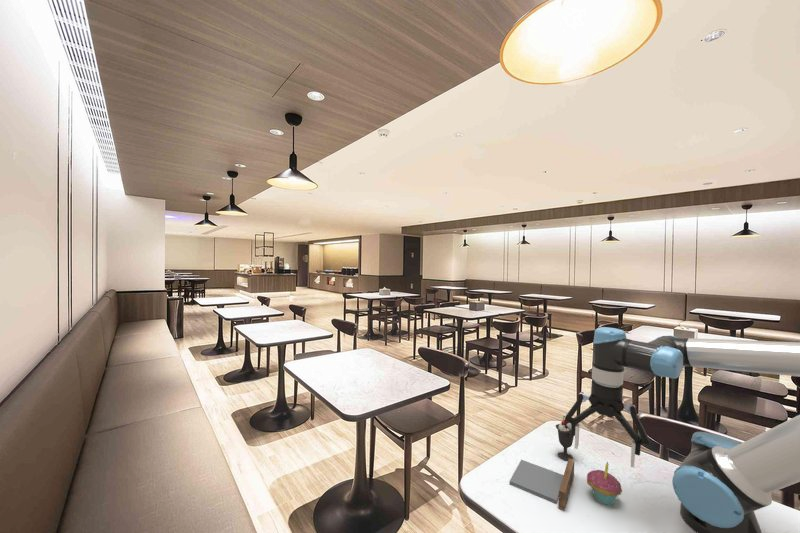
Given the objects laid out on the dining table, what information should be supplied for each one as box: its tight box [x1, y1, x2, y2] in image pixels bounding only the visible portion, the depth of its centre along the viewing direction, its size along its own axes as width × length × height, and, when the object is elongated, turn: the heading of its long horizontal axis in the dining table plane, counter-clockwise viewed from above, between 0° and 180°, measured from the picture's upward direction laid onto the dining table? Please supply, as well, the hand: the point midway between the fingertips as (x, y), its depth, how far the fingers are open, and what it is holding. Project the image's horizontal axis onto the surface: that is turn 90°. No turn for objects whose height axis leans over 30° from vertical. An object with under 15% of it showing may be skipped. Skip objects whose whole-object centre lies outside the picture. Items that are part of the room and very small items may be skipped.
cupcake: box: [586, 461, 623, 506], centre depth 92 cm, size 9×8×12 cm
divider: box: [557, 458, 575, 512], centre depth 95 cm, size 2×18×5 cm, turn 144°
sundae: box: [555, 415, 575, 462], centre depth 111 cm, size 7×7×15 cm
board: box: [509, 459, 564, 505], centre depth 99 cm, size 13×13×1 cm
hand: (603, 455), depth 92 cm, fingers open, 13 cm apart
